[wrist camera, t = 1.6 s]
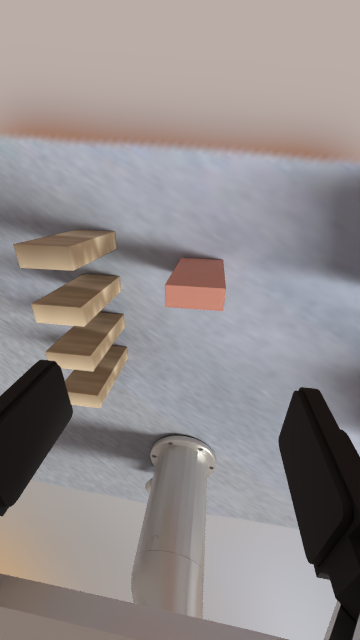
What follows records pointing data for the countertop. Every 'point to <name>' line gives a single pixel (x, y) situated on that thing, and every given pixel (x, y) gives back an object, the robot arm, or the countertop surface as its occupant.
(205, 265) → the domino
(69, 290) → the domino
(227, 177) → the countertop surface
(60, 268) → the domino
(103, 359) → the domino
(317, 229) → the countertop surface
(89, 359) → the domino
